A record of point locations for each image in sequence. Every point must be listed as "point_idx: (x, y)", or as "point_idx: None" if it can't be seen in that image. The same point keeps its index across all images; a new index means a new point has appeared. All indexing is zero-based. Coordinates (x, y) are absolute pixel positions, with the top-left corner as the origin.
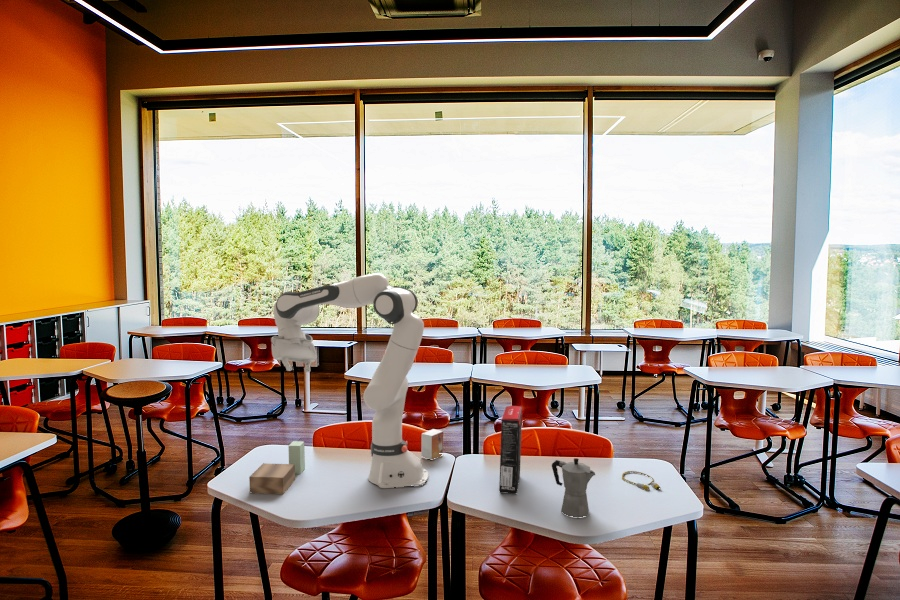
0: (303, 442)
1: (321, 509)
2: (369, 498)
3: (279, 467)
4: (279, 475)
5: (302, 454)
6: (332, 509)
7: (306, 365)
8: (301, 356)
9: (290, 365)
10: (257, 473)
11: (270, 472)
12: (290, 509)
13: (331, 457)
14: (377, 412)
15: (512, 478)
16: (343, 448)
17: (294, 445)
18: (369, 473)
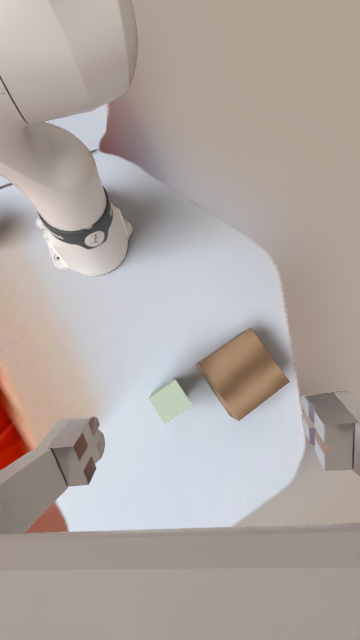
0: (154, 394)
1: (232, 251)
2: (167, 222)
3: (228, 373)
4: (249, 340)
5: (162, 387)
6: (222, 240)
7: (27, 515)
8: (103, 561)
9: (346, 418)
10: (272, 382)
11: (253, 366)
12: (260, 284)
13: (78, 398)
14: (49, 165)
15: None
16: (21, 420)
17: (182, 393)
18: (112, 264)
